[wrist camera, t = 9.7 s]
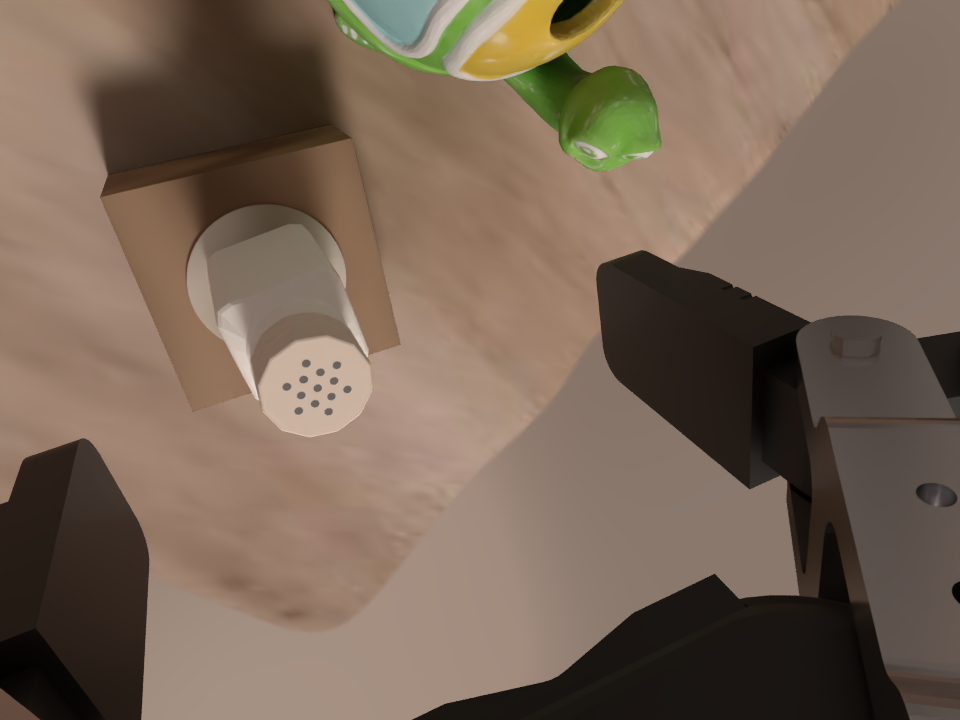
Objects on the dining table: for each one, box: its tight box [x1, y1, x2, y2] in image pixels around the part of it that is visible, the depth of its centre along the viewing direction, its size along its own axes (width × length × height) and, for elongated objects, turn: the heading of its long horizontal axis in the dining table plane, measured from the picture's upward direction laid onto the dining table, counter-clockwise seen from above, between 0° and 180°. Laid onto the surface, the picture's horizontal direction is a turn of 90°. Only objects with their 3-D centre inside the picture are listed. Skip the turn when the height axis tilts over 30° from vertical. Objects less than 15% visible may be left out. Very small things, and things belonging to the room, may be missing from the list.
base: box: [100, 125, 401, 412], centre depth 29 cm, size 9×9×4 cm
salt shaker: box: [207, 224, 373, 437], centre depth 23 cm, size 4×4×10 cm
